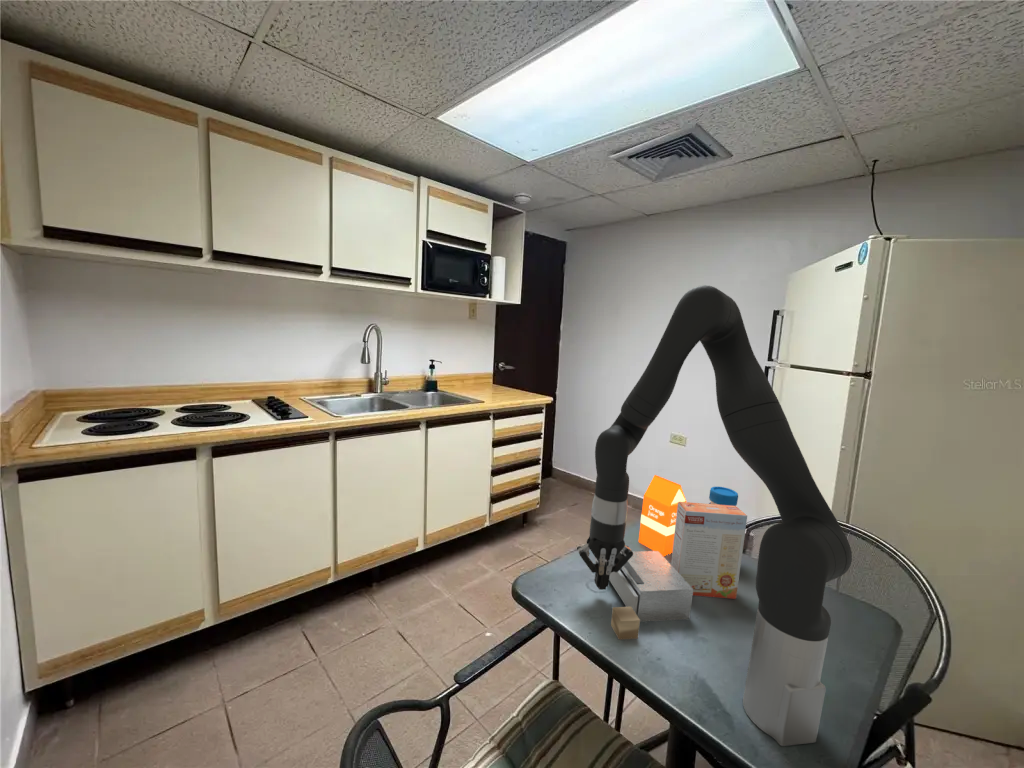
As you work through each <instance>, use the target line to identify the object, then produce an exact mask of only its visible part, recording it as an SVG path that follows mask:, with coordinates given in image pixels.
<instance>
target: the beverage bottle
mask: <svg viewBox="0 0 1024 768" xmlns="http://www.w3.org/2000/svg"><path fill="white" fill-rule="evenodd" d="M738 499H739V493H738V492H737V491H735V489H734V490H733V489H732V488H729V487H724V486H712V487H710V490H709V497H708V500H709V502H708V504H717V505H730V506H736V507H737V505H738Z"/></svg>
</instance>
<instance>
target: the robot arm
mask: <svg viewBox="0 0 1024 768" xmlns="http://www.w3.org/2000/svg"><path fill="white" fill-rule="evenodd" d="M699 343H701V345H702V347H703V348H704V350H705V353H706V355H707V357H708V359H709V361H710V363H711V365H712V366H711V367H712V368H713V371H714V376H715V377H714V379H715V391H716V392H715V394H716V402H717V408H718V412H719V415H720V418H721V421H722V424H723V426H724V429H725V431H726V434H727V437H728V440H729V441H730V443H731V446H732V447H733V448H734V450H735V451H736V452H737V454H738V456H740V457H741V459H742V460H743V462H744V463H746V464H747V466H748V467H749V468H750V469H751V470H752V471H753V472H754V473H755V475H757V476H758V478H760V480H761V481H762V482H763V483H764V485H765V486H766V488H767V489H768V491H769V493H770V494H771V496H772V499H773V501H774V503H775V505H776V508H777V510H778V514H779V516H780V519H781V522H778V523H776V524H773V525H771V526H770V527H768V528H767V529H766V531H765V532H764V534H763V536H762V539H761V541H760V544H759V549H758V557H757V566H756V567H757V568H756V575H755V576H756V577H755V589H756V594H757V597H758V598H757V599H758V603H757V604H758V605H757V611H756V618H755V623H754V628H753V635H752V642H751V647H750V653H749V654H750V655H749V659H748V661H749V662H748V667H747V670H746V671H747V673H746V678H745V684H744V692H743V698H742V705H743V708H744V711H745V713H746V715H747V716H748V718H749V719H750V720H751V722H753V723H754V724H755V725H756V726H757V728H759V729H760V730H761V731H763V732H764V733H765V734H767V735H768V736H770V737H772V738H773V739H774V740H775V741H776V742H777V743H778V744H779V746H781V747H785V746H786V747H787V746H796V745H802V744H804V745H805V744H812V743H813V744H814V743H816V742H817V737H818V732H819V728H820V727H819V726H820V722H821V717H822V711H823V708H824V707H823V706H824V700H825V695H826V691H827V688H826V685H825V684H823V683H822V682H821V677H822V672H823V666H824V663H825V662H824V661H825V656H826V653H827V647H828V640H829V635H830V632H831V631H830V630H831V625H832V619H831V615H830V614H829V611H828V610H827V608H826V607H825V606H824V605H823V603H824V602H823V601H824V596H825V589H826V583H829V582H831V581H833V580H835V579H838V578H840V577H843V575H844V574H846V573H847V572H848V571H849V569H850V568H851V565H852V561H853V554H852V553H853V552H852V548H851V545H850V542H849V539H848V538H847V535H846V534H845V532H844V530H843V528H842V527H841V524H840V523H839V522H838V520H837V518H836V516H835V515H834V513H833V511H832V510H831V507H830V506H829V504H828V502H827V501H826V499H825V496H824V495H823V494H822V492H821V490H820V489H819V487H818V485H817V483H816V482H815V479H814V478H813V475H812V473H811V471H810V468H809V466H808V464H807V462H806V459H805V457H804V455H803V452H802V451H801V449H800V447H799V444H798V442H797V440H796V437H795V435H794V433H793V431H792V429H791V427H790V424H789V421H788V418H787V416H786V414H785V412H784V410H783V407H782V405H781V404H780V402H779V399H778V397H777V395H776V393H775V391H774V388H773V387H772V385H771V383H770V381H769V379H768V377H767V376H766V374H765V372H764V370H763V368H762V366H761V364H760V363H759V362H758V359H757V357H756V355H755V353H754V351H753V348H752V346H751V342H750V340H749V337H748V333H747V331H746V327H745V324H744V320H743V316H742V314H741V310H740V308H739V306H738V305H737V302H736V301H735V300H734V299H733V298H732V297H731V296H729V295H728V294H726V293H725V292H723V291H721V290H720V289H719V288H717V287H715V286H711V285H706V284H702V285H698V286H694V287H692V288H691V289H688V291H687V292H685V293H684V295H682V297H681V298H680V299H679V301H678V303H677V304H676V306H675V309H674V311H673V312H672V315H671V317H670V320H669V321H668V324H667V325H666V328H665V331H664V332H663V334H662V336H661V339H660V341H659V343H658V345H657V347H656V349H655V350H654V353H653V355H652V357H651V359H650V360H649V362H648V364H647V366H646V368H645V369H644V371H643V373H642V375H641V376H640V378H639V379H638V381H637V382H636V384H635V385H634V386H633V388H632V390H630V393H628V396H626V399H625V400H624V402H623V403H622V405H621V406H620V407H621V408H620V413H619V414H618V415H617V417H616V419H615V420H614V422H613V423H612V424H611V426H610V427H608V428H607V429H606V430H603V431H602V432H600V434H599V436H598V437H597V439H596V442H595V449H594V456H595V457H594V459H595V460H594V461H595V471H596V480H595V486H594V487H595V488H594V496H593V499H592V506H591V510H590V511H591V516H590V524H589V536H588V538H587V539H586V543H585V544H584V545H583V546H581V545H579V546H577V547H576V551H577V552H578V554H579V557H581V559H582V561H583V562H584V563H585V565H586V566H587V568H588V570H590V572H591V573H593V574H594V584H595V586H596V587H597V588H598V590H599V591H601V590H603V591H604V590H606V589H607V588H608V587H609V585H610V583H609V582H610V580H609V576H610V574H611V572H618V571H619V570H620V569H621V568H622V567H623V566H624V565H625V563H626V562H627V561H628V560H629V559H630V558H631V557H632V556H633V552H634V551H633V550H632V549H631V548H630V547H629V546H628V545H626V543H625V540H624V539H625V536H626V535H625V534H626V527H627V526H626V525H627V524H626V523H627V516H628V497H629V488H630V476H629V473H628V472H627V469H628V468H627V467H628V460H629V459H628V457H629V455H631V454H632V453H633V452H634V450H635V449H637V447H638V445H639V444H640V442H641V440H642V439H643V437H644V436H645V435H646V432H647V431H648V428H649V427H650V426H651V424H653V422H654V421H655V420H656V418H657V417H658V415H660V412H662V410H663V408H664V407H665V406H666V404H667V403H668V402H669V399H670V397H671V396H672V394H673V392H674V389H675V387H676V383H677V380H678V377H679V374H680V372H681V369H682V367H683V365H684V363H685V361H686V359H687V358H688V356H689V355H690V353H691V352H692V351H693V349H694V348H695V347H696V346H697V344H699ZM590 551H591V553H592V554H593V556H594V559H595V560H594V561H595V562H593V561H592V559H591V558H590Z"/></svg>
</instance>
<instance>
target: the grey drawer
mask: <svg viewBox="0 0 1024 768" xmlns="http://www.w3.org/2000/svg"><path fill="white" fill-rule="evenodd" d="M626 577H627V576H626V575H625V574H624V572H623V571H622V570H619V571H618V572H611V574H610V576H609V582H610V584H611V585H612V586H613V588H614V589H615V592H616V593H617V594H618V595H619V598H620V599H621V600H622V602H623V604H624V605H625V607H632V609H633V610H634V612H635V613H636V612H637V603H638V595H637V594H636V592H635V591H634V590H633V588H632V587H631V585H630V584H629V582H628V581H627V580H626Z"/></svg>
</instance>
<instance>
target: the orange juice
mask: <svg viewBox="0 0 1024 768" xmlns="http://www.w3.org/2000/svg"><path fill="white" fill-rule="evenodd" d="M678 502H688V501H687V499H686V496H685V493H684V491H683V488H682V485H681V484H679V483H677V482H674V481H671V480H669V479H667V478H665V477H661V476H659V475H657V474H654V475H653V477H652V480H651V481H650V483H649V485H648V486H647V488H646V491H645V492H644V494H643V499H642V509H641V514H640V524H639V525H640V526H639V533H638V543H639V544H640V545H642V546H645V547H647V548H648V549H650V551H659V552H660V554H661V555H662V556H663V557H667V556H669V555H672V554H671V553H672V551H673V542H674V533H675V524H676V516H677V507H678ZM668 554H669V555H668ZM666 555H667V556H666Z"/></svg>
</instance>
